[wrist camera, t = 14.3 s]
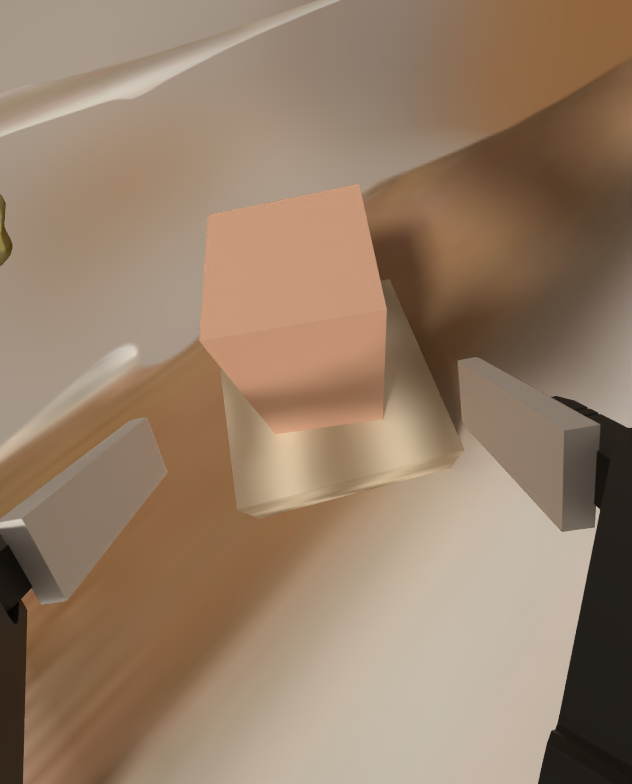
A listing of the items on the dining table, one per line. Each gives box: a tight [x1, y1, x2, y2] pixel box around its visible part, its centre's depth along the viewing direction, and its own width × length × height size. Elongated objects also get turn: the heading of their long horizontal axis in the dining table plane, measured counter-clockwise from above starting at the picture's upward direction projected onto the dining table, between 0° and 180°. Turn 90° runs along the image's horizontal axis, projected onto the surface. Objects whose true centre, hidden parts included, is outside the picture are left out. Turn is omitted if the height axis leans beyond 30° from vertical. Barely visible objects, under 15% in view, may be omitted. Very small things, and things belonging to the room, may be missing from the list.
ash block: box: [220, 279, 464, 518], centre depth 27 cm, size 14×14×5 cm
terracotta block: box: [200, 184, 387, 434], centre depth 19 cm, size 7×7×11 cm
